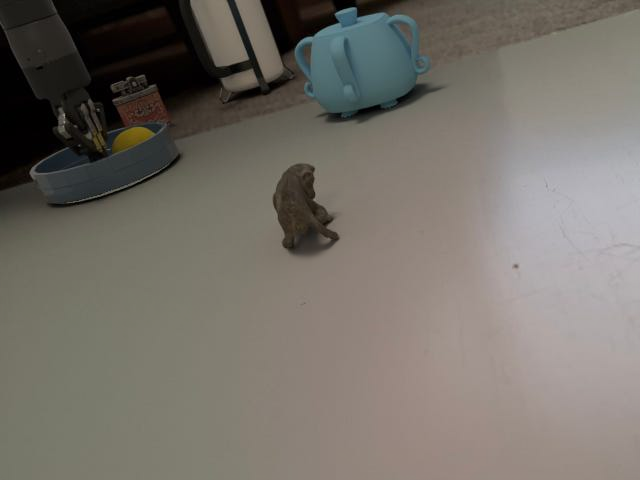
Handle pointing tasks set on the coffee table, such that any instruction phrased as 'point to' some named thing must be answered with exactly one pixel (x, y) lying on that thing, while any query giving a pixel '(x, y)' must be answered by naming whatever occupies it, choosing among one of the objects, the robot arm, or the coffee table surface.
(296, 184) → the brown furry figure
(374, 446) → the coffee table surface
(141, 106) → the lighter
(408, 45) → the decorative pot
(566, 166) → the coffee table surface
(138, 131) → the lemon
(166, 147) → the bowl
